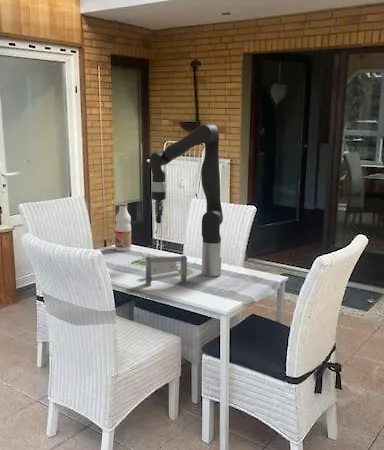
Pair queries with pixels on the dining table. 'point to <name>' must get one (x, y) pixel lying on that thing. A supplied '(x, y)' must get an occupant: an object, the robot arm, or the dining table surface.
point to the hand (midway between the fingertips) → (158, 222)
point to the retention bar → (166, 259)
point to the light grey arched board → (163, 270)
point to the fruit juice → (123, 229)
